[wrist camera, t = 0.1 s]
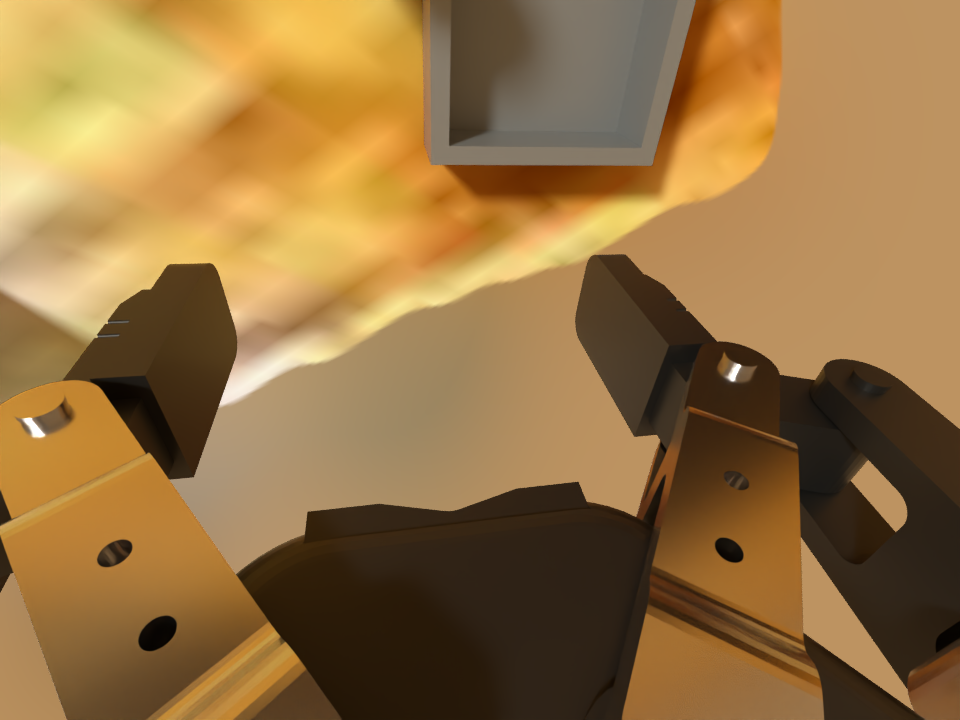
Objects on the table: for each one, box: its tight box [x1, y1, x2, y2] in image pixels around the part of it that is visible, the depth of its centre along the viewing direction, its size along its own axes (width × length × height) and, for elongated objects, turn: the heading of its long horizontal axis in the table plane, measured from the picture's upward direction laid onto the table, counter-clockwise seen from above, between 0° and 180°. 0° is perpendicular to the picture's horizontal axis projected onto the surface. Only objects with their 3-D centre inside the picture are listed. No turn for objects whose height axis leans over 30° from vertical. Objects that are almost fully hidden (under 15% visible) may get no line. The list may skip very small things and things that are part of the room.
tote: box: [422, 0, 696, 166], centre depth 31 cm, size 16×16×5 cm
